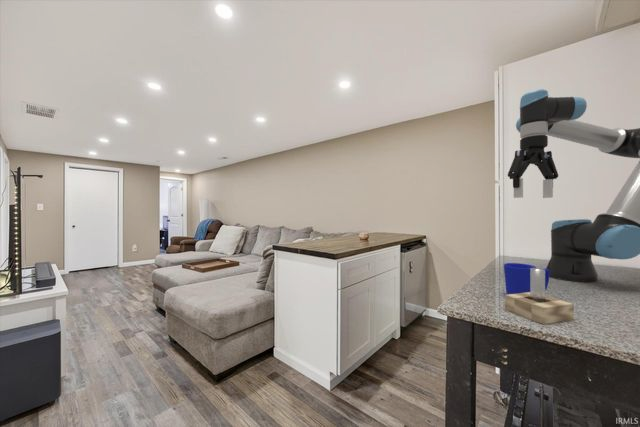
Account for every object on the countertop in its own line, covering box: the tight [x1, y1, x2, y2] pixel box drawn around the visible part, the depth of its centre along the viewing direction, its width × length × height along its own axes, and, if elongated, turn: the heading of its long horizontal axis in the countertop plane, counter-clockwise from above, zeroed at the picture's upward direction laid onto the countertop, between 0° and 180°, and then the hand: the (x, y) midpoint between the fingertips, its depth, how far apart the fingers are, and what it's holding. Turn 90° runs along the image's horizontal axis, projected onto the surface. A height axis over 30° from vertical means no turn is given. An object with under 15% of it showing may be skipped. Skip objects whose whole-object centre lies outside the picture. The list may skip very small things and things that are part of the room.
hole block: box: [504, 292, 574, 325], centre depth 69 cm, size 10×10×4 cm
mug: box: [503, 262, 550, 295], centre depth 82 cm, size 8×12×10 cm
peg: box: [530, 267, 546, 303], centre depth 69 cm, size 3×3×12 cm
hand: (533, 197), depth 92 cm, fingers open, 13 cm apart
